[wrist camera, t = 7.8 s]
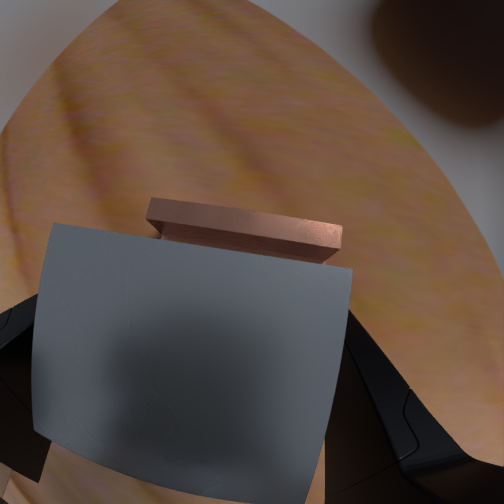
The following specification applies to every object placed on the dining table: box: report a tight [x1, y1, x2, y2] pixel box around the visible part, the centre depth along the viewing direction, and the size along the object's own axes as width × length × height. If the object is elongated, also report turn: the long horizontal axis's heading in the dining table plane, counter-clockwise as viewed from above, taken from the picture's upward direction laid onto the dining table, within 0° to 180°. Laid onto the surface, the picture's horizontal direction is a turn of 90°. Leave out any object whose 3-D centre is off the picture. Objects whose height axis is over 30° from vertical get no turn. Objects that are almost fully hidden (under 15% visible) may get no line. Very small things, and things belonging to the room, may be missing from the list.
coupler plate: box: [146, 197, 342, 265], centre depth 15 cm, size 10×10×4 cm
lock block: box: [31, 223, 353, 504], centre depth 10 cm, size 4×5×12 cm
